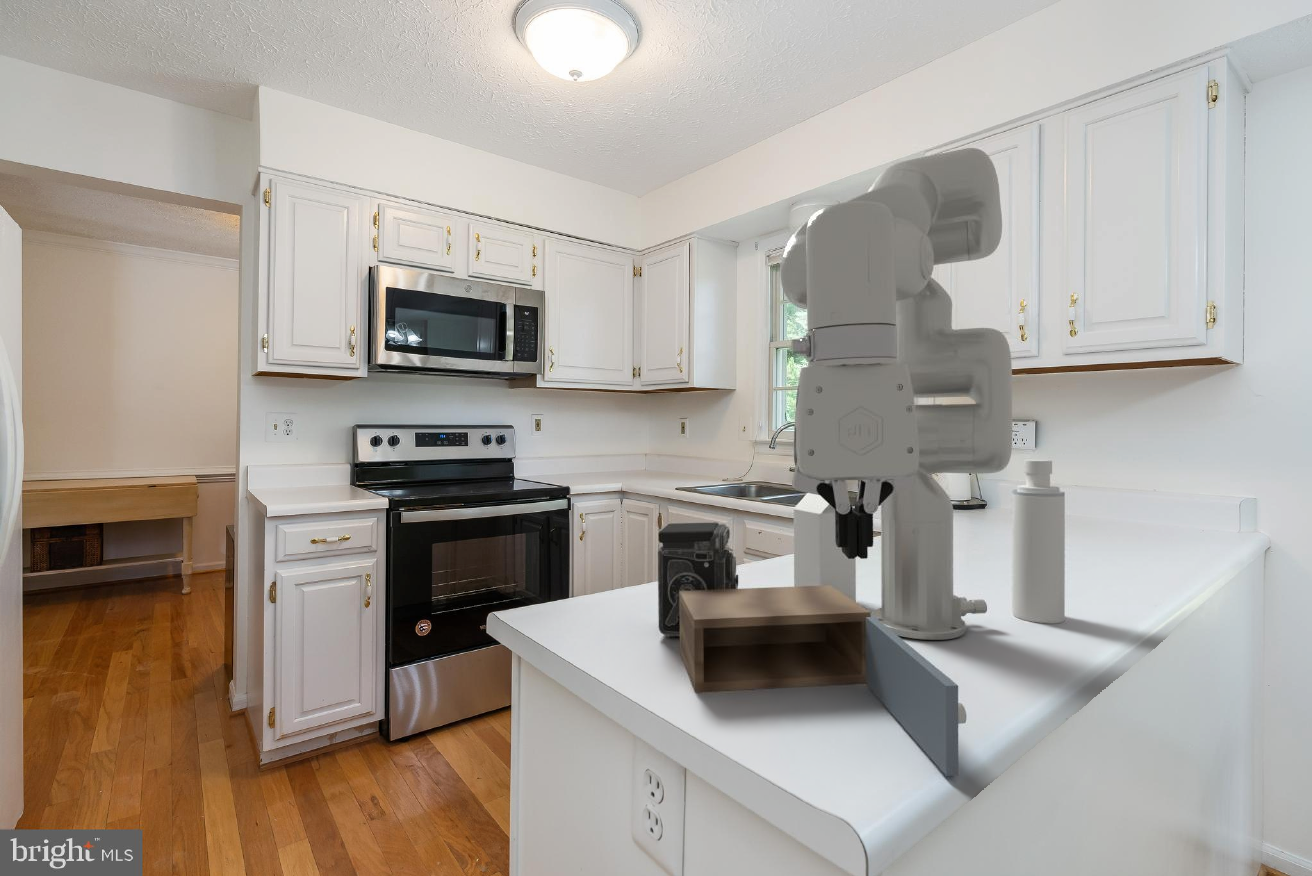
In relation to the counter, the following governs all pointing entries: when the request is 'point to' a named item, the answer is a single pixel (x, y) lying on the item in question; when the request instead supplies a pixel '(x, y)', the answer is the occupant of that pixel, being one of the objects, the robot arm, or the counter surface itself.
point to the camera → (691, 566)
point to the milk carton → (820, 548)
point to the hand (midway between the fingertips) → (854, 554)
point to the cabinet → (772, 638)
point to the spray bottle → (1038, 546)
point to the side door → (915, 694)
